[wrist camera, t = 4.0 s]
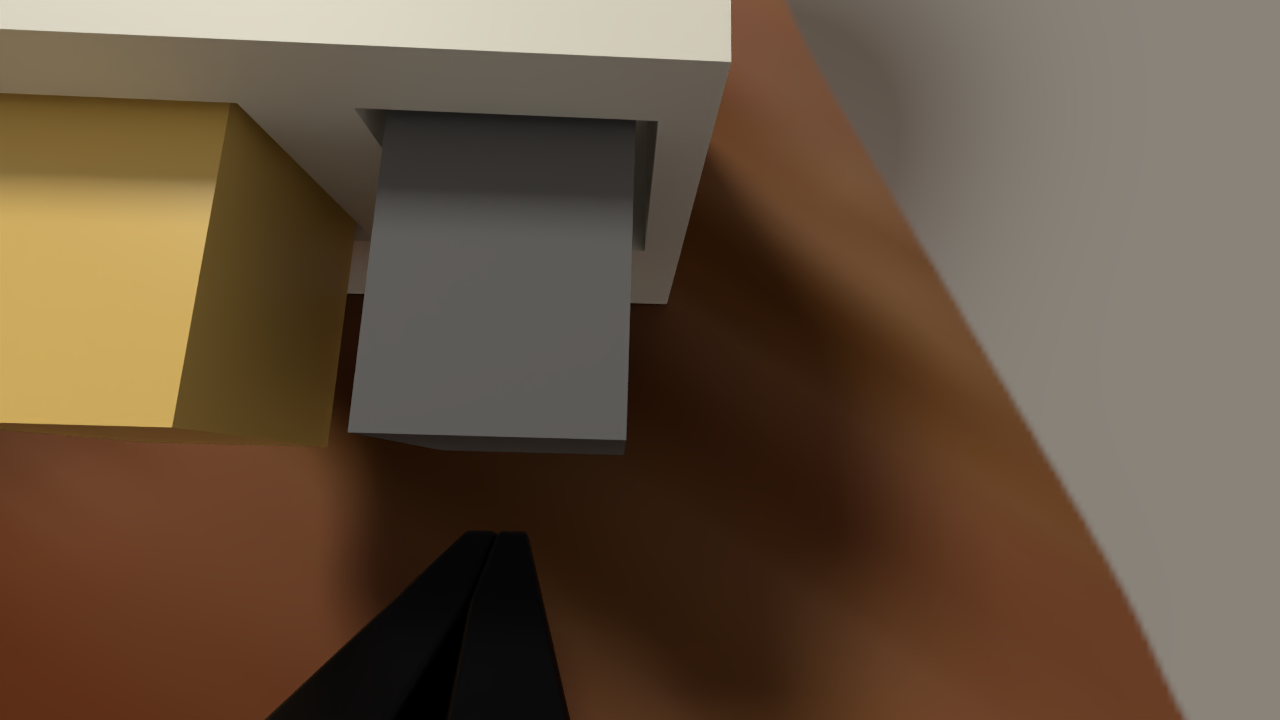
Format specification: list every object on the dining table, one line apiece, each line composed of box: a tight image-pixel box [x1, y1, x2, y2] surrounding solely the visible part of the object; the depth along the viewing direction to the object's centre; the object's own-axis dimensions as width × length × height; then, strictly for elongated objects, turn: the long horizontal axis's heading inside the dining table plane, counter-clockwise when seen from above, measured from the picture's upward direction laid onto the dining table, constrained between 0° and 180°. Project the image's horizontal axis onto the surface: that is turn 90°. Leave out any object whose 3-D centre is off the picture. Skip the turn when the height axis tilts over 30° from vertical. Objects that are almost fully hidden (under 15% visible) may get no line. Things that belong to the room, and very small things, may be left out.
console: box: [0, 0, 731, 304], centre depth 12 cm, size 6×11×10 cm, turn 89°
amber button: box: [0, 93, 356, 447], centre depth 10 cm, size 4×3×4 cm
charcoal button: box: [348, 109, 636, 455], centre depth 10 cm, size 4×3×4 cm
